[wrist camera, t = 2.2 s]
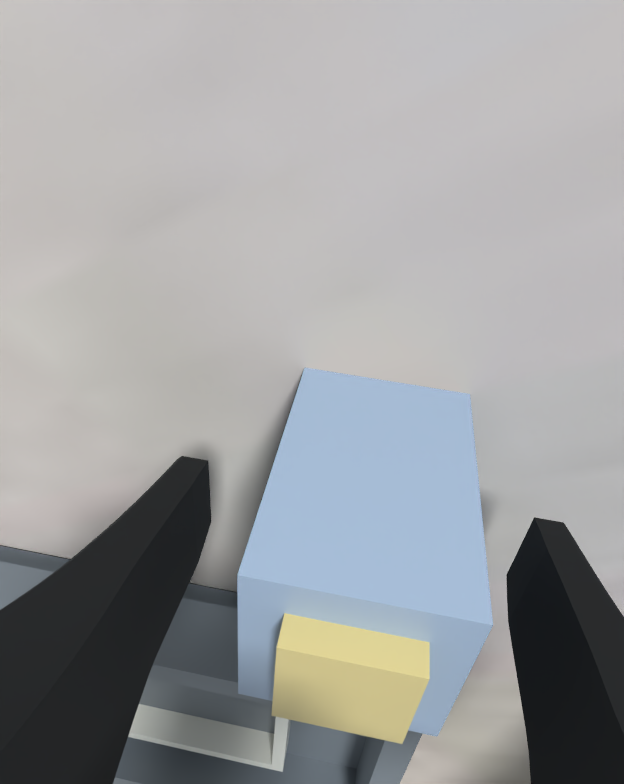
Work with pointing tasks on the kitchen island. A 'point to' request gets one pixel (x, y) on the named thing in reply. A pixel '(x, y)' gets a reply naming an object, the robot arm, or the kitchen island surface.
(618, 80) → the kitchen island surface
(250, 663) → the plug
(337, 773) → the dock
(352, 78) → the kitchen island surface
